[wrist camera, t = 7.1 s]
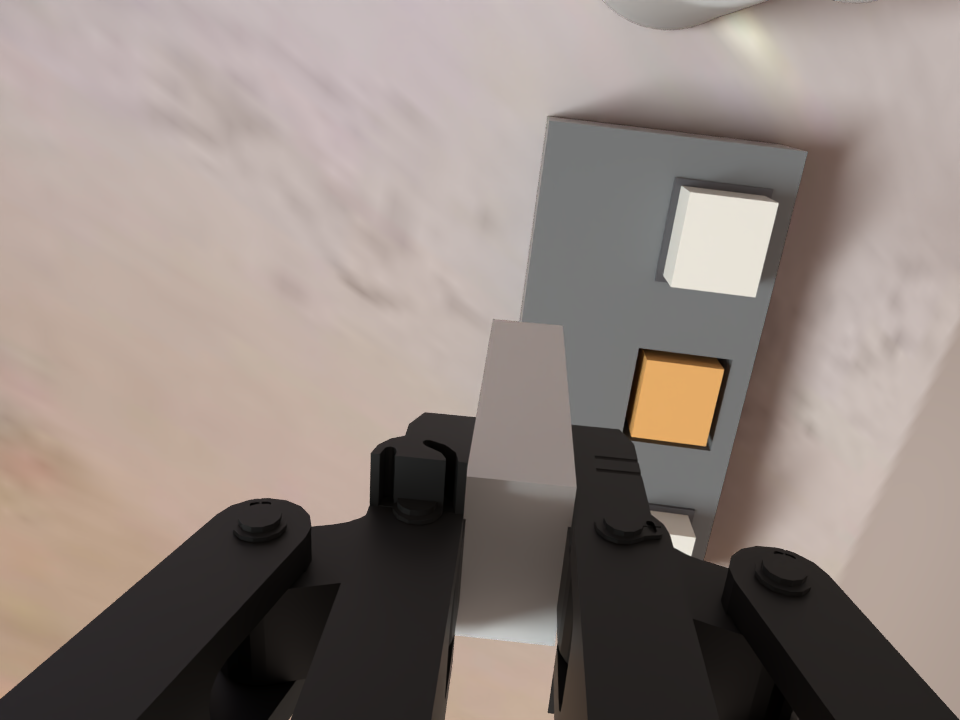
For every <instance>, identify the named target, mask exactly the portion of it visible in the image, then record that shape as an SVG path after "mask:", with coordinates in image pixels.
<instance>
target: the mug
mask: <svg viewBox="0 0 960 720" xmlns="http://www.w3.org/2000/svg"><path fill="white" fill-rule="evenodd" d="M602 1H603V2H604V3H605V4H606V5H607V6H608V7H609V8H610V9H612V10H613V11H614V12H615V13H617V14H618V15H619V16H621V17H623V18H625V19H626V20H628V21H630V22H632V23H635V24H637V25H640V26H643V27H647V28H651V29H660V30H676V29H684V28H689V27H694V26H697V25H700V24H703V23H706V22H708V21H710V20H712V19H715V18H717V17H720V16H723V15H726V14H729V13H732V12H735V11H738V10H741V9H744V8H747V7H750V6H753V5H756V4H759V3H762V2H765V1H768V0H602ZM834 1H838V2H844V3H867V2H873V1H876V0H834Z"/></svg>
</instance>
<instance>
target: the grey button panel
mask: <svg viewBox="0 0 960 720" xmlns="http://www.w3.org/2000/svg"><path fill="white" fill-rule="evenodd" d="M807 153H808V152H807V151H804V150H800V149H796V148H792V147H788V146H785V145H781V144H775V143H766V142H758V141H750V140H742V139H733V138H725V137H717V136H708V135H700V134H692V133H684V132H675V131H667V130H659V129H650V128H642V127H634V126H626V125H617V124H609V123H601V122H592V121H584V120H576V119H568V118H559V117H551V116H548V117H547V124H546V131H545V139H544V146H543V153H542V161H541V168H540V175H539V183H538V190H537V197H536V205H535V212H534V219H533V227H532V234H531V241H530V249H529V256H528V263H527V270H526V278H525V285H524V292H523V300H522V307H521V314H520V322H529V323H540V324H551V325H561V326H563V334H564V346H565V358H566V369H567V381H568V392H569V404H570V416H571V425H581V426H591V427H601V428H611V429H620V430H621V431H622V432H623V433H624V434H625V435H626V436H627V437H628V438H629V439H630V440H631V441H632V442H633V443H634V446H635V450H636V454H637V458H638V463H639V466H640V470H641V476H642V479H643V483H644V487H645V491H646V495H647V499H648V503H649V507H650V512H651V515H653V516H654V517H655V518H656V519H658V520H659V521H660V522H662V523H663V524H664V525H665V527H666V529H667V530H668V532H669V534H670V536H671V540H672V543H673V547H674V548H676V549H678V550H680V551H681V552H683V553H685V554H687V555H689V556H692V557H695V558H697V559H700V560H703V561H704V557H705V553H706V549H707V545H708V541H709V537H710V534H711V530H712V526H713V522H714V518H715V514H716V510H717V506H718V502H719V498H720V494H721V490H722V486H723V483H724V479H725V475H726V471H727V467H728V463H729V459H730V455H731V451H732V447H733V443H734V439H735V436H736V432H737V428H738V424H739V420H740V416H741V412H742V408H743V404H744V400H745V396H746V392H747V388H748V385H749V381H750V377H751V373H752V369H753V365H754V361H755V357H756V353H757V349H758V345H759V341H760V338H761V334H762V330H763V326H764V322H765V318H766V314H767V310H768V306H769V302H770V298H771V294H772V290H773V287H774V283H775V279H776V275H777V271H778V267H779V263H780V259H781V255H782V251H783V247H784V243H785V240H786V236H787V232H788V228H789V224H790V220H791V216H792V212H793V208H794V204H795V200H796V196H797V192H798V189H799V185H800V181H801V177H802V173H803V169H804V165H805V161H806V157H807ZM639 348H643V349H651V350H659V351H667V352H675V353H683V354H691V355H699V356H707V357H715V358H717V359H718V361H719V362H720V364H721V365H722V367H723V368H724V373H723V377H722V381H721V385H720V389H719V394H718V398H717V402H716V406H715V410H714V414H713V418H712V423H711V427H710V431H709V435H708V439H707V443H706V446H699V445H691V444H683V443H676V442H668V441H660V440H652V439H645V438H637V437H631V433H630V430H629V426H628V423H627V419H626V411H627V406H628V401H629V396H630V391H631V386H632V381H633V376H634V370H635V365H636V360H637V355H638V350H639Z"/></svg>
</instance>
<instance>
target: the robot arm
mask: <svg viewBox="0 0 960 720" xmlns="http://www.w3.org/2000/svg"><path fill="white" fill-rule="evenodd" d="M556 632H557V638H558V644H557V651H556V658H555V665H554V672H553V679H552V686H551V693H550V700H549V708H548V713H552V714H554V720H959V719H958V718H957V717H956V715H955V714H954V713H953V712H952V711H951V710H950V709H949V708H948V707H947V706H946V704H945V703H944V702H943V701H942V700H941V699H940V698H939V697H938V696H937V694H936V693H935V692H934V691H933V690H932V689H931V688H930V687H929V686H928V684H927V683H926V682H925V681H924V680H923V679H922V678H921V677H920V676H919V674H918V673H917V672H916V671H915V670H914V669H913V668H912V667H911V666H910V665H909V663H908V662H907V661H906V660H905V659H904V658H903V657H902V656H901V655H900V653H898V651H897V650H896V649H895V648H894V647H893V646H892V645H891V643H890V642H889V641H888V640H887V639H886V638H885V637H884V636H883V635H882V634H881V633H880V631H879V630H878V629H877V628H876V627H875V626H874V625H873V624H872V622H871V621H870V620H869V619H868V618H867V617H866V616H865V615H864V614H863V613H862V612H861V610H860V609H859V608H858V607H857V606H856V605H855V604H854V603H853V601H852V600H851V599H850V598H849V597H848V596H847V595H846V594H845V593H844V591H843V590H842V589H841V588H840V587H839V586H838V585H837V584H836V583H835V582H834V580H833V579H832V578H831V577H830V576H829V575H828V574H827V573H826V572H824V571H823V570H822V569H821V568H820V567H818V566H817V565H816V564H815V563H813V562H811V561H809V560H807V559H805V558H804V557H802V556H800V555H798V554H796V553H793V552H790V551H788V550H786V551H785V550H784V549H780V548H775V547H761V546H755V547H750V548H744V549H741V550H739V551H738V552H737V553H735V554H734V555H733V556H731V560H730V565H729V568H726V567H722V566H719V565H716V564H713V563H709V562H706V561H703V560H700V559H697V558H695V557H692V556H689V555H687V554H685V553H683V552H681V551H680V550H678V549H676V548H674V547H673V543H672V540H671V536H670V534H669V532H668V530H667V529H666V527H665V525H664V524H663V523H662V522H660V521H659V520H658V519H656V518H655V517H654V516H653V515H651V512H650V507H649V503H648V499H647V495H646V491H645V487H644V483H643V479H642V476H641V470H640V466H639V463H638V458H637V454H636V450H635V446H634V443H633V442H632V441H631V440H630V439H629V438H628V437H627V436H626V435H625V434H624V433H623V432H622V431H621V430H620V429H611V428H601V427H591V426H581V425H571V416H570V404H569V392H568V381H567V369H566V358H565V346H564V334H563V326H561V325H551V324H540V323H529V322H518V321H507V320H496V319H493V322H492V328H491V334H490V340H489V345H488V351H487V357H486V363H485V369H484V374H483V380H482V386H481V392H480V398H479V403H478V409H477V415H476V417H467V416H457V415H447V414H436V413H426V412H425V413H423V414H422V415H421V416H419V417H418V418H417V419H415V420H414V421H413V422H411V423H410V424H409V426H408V429H407V432H406V435H405V436H401V437H396V438H391V439H389V440H387V441H385V442H383V443H381V444H379V445H377V447H376V448H375V449H374V450H373V451H372V453H371V471H370V506H369V509H368V511H367V514H366V515H365V516H363V517H361V518H359V519H356V520H353V521H350V522H346V523H340V524H334V525H324V526H314V527H311V521H310V515H309V514H308V513H307V512H306V511H305V510H304V509H303V508H302V507H301V506H299V505H296V504H294V503H291V502H289V501H286V500H279V499H271V498H262V499H253V500H248V501H245V502H241V503H238V504H235V505H232V506H230V507H228V508H227V509H225V510H223V511H222V512H220V513H218V514H217V515H216V516H215V517H213V518H212V519H211V520H210V521H209V522H207V523H206V524H205V525H204V526H203V527H202V528H200V529H199V530H198V531H197V532H196V533H195V534H193V535H192V536H191V537H190V538H189V539H188V540H186V541H185V542H184V543H183V544H182V545H181V546H179V547H178V548H177V549H176V550H175V551H173V552H172V553H171V554H170V555H169V556H168V557H166V558H165V559H164V560H163V561H162V562H161V563H159V564H158V565H157V566H156V567H155V568H154V569H152V570H151V571H150V572H149V573H148V574H147V575H145V576H144V577H143V578H142V579H141V580H139V581H138V582H137V583H136V584H135V585H134V586H132V587H131V588H130V589H129V590H128V591H127V592H125V593H124V594H123V595H122V596H121V597H120V598H118V599H117V600H116V601H115V602H114V603H113V604H111V605H110V606H109V607H108V608H107V609H105V610H104V611H103V612H102V613H101V614H100V615H98V616H97V617H96V618H95V619H94V620H93V621H91V622H90V623H89V624H88V625H87V626H86V627H84V628H83V629H82V630H81V631H80V632H79V633H77V634H76V635H75V636H74V637H73V638H71V639H70V640H69V641H68V642H67V643H66V644H64V645H63V646H62V647H61V648H60V649H59V650H57V651H56V652H55V653H54V654H53V655H52V656H50V657H49V658H48V659H47V660H46V661H45V662H43V663H42V664H41V665H40V666H39V667H37V668H36V669H35V670H34V671H33V672H32V673H30V674H29V675H28V676H27V677H26V678H25V679H23V680H22V681H21V682H20V683H19V684H18V685H16V686H15V687H14V688H13V689H12V690H11V691H9V692H8V693H7V694H6V695H5V696H3V697H2V698H1V699H0V720H289V719H290V717H291V716H292V717H291V720H445V713H446V705H447V698H448V691H449V684H450V677H451V669H452V662H453V649H454V636H455V635H457V636H466V637H475V638H484V639H494V640H503V641H512V642H521V643H530V644H540V645H549V646H555V639H556ZM292 714H293V715H292Z"/></svg>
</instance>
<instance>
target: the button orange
mask: <svg viewBox="0 0 960 720" xmlns="http://www.w3.org/2000/svg"><path fill="white" fill-rule="evenodd" d="M723 373H724V368H723V367H722V365H721V364H720V362H719V361H718V359H717V358H715V357H707V356H699V355H691V354H683V353H675V352H667V351H659V350H651V349H643V348H639V350H638V355H637V360H636V365H635V370H634V376H633V381H632V386H631V391H630V396H629V401H628V406H627V411H626V419H627V423H628V426H629V430H630V433H631V437H637V438H645V439H652V440H660V441H668V442H676V443H683V444H691V445H699V446H706V443H707V439H708V435H709V431H710V427H711V423H712V418H713V414H714V410H715V406H716V402H717V398H718V394H719V389H720V385H721V381H722V377H723Z"/></svg>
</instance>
